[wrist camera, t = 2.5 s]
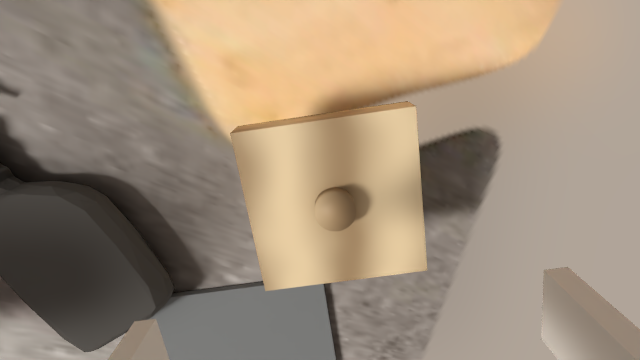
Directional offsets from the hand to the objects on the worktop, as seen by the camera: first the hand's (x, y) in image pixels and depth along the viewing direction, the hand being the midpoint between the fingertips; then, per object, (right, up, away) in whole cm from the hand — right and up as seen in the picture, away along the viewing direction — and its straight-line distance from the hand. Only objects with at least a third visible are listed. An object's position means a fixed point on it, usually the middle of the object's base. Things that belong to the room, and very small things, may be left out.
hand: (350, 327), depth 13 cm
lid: (0, +4, +12) cm, 13 cm away
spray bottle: (-23, +3, +18) cm, 29 cm away
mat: (-8, -12, +23) cm, 27 cm away
